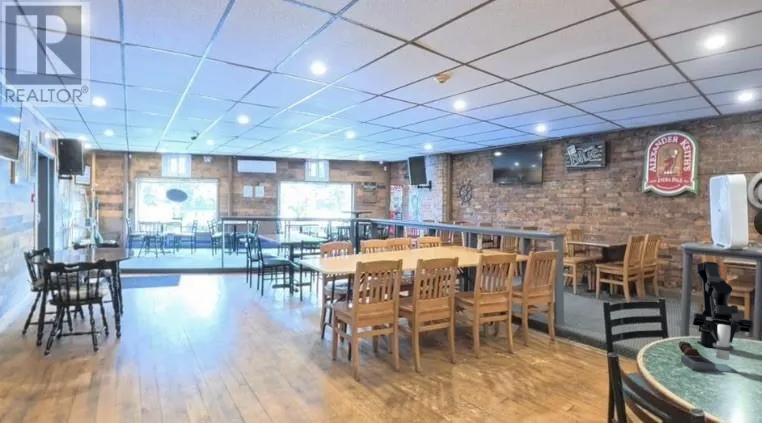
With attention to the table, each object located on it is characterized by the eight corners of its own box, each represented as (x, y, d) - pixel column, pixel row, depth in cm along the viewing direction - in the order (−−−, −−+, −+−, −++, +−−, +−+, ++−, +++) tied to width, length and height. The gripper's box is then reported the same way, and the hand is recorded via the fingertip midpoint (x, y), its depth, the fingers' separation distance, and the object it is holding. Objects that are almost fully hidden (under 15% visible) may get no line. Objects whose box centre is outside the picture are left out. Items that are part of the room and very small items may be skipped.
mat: (706, 364, 170) (706, 363, 170) (725, 365, 169) (725, 364, 169) (718, 371, 163) (718, 370, 163) (738, 372, 162) (738, 371, 162)
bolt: (684, 353, 187) (694, 364, 173) (673, 346, 189) (682, 356, 175) (692, 342, 186) (703, 353, 172) (681, 335, 187) (690, 345, 174)
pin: (708, 355, 169) (709, 323, 168) (722, 354, 170) (723, 323, 169) (722, 361, 163) (724, 328, 162) (737, 360, 163) (739, 328, 163)
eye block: (681, 362, 172) (681, 355, 172) (702, 363, 171) (702, 356, 171) (692, 370, 164) (693, 362, 164) (715, 371, 163) (715, 364, 163)
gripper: (694, 293, 173) (697, 327, 164) (753, 299, 164) (760, 335, 155) (690, 307, 180) (693, 340, 171) (747, 314, 171) (753, 349, 162)
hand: (724, 341), depth 165 cm, fingers closed on pin, 4 cm apart
